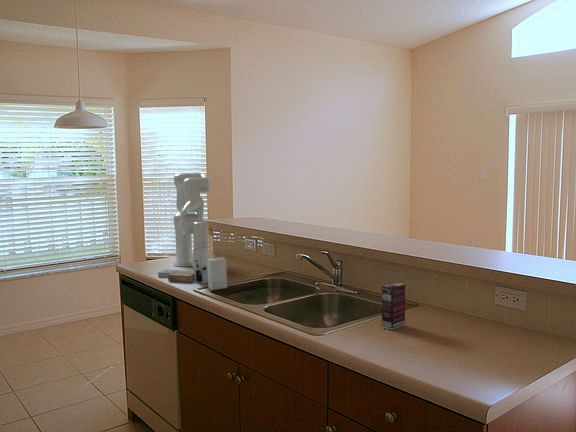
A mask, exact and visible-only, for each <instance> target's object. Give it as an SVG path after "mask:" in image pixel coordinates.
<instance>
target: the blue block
mask: <svg viewBox="0 0 576 432" xmlns="http://www.w3.org/2000/svg"><path fill="white" fill-rule="evenodd" d="M198 270H200V269H198ZM201 274H202V282H197V281H196V274H195V281H194V283H195V284H206V283H208V270H203V269H202V271H201Z"/></svg>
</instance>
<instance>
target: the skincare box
mask: <svg viewBox="0 0 576 432" xmlns="http://www.w3.org/2000/svg"><path fill="white" fill-rule="evenodd" d="M207 268H208V282H207V284H208V286H207V287H208V289H210V290H211V291H216V290H223V289H227V288H228V274H227V269H228V268H227V259H226V258H225V257H223V256H220V257H219V256H218V257H213V258H209V259H207Z"/></svg>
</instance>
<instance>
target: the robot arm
mask: <svg viewBox="0 0 576 432" xmlns="http://www.w3.org/2000/svg"><path fill="white" fill-rule="evenodd" d="M173 183H174V185H175V186H174V187H175V188H176V210H177V213H175V214H174V215H173V218H172V219H173V226H174V235H175V257H176V258H175V259H176V261H175V262H174V263H173V266H174V265H175V267H191V266H192V269H193V271H195V274H196V281H197V282H202V274H201V271H202V269H203V270H208V268H207V259H210V257H209V256H210V254H209V223H208V222H207V220H206V219H204V211H205V209H204V208H205V203H204V202H205V201H204V198H203V197H202V196H201V194H202V193H203V194H204V193H205V194H206V193H209V191H210V187H211V185H210V182H209V178H208V177H207V176H206V175H205V174H204V173H202V172H201V173H200V172H194V173H193V172H192V173H190V172H188V173H187V172H184V173H183V172H181V173H176V174H174V176H173ZM199 269H200V270H199Z"/></svg>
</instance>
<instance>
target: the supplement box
mask: <svg viewBox="0 0 576 432" xmlns="http://www.w3.org/2000/svg"><path fill="white" fill-rule="evenodd" d="M404 325H405V326H406V284H405V283H402V282H392V283H388V284H385V285H381V328H382V327H384V328H387V329H386V330H388V329H391V330H390V331H394V330H393V329H395V330H397V329H399V327H400V328H402V327H404ZM401 326H402V327H401ZM384 328H383V329H384ZM396 328H397V329H396Z"/></svg>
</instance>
